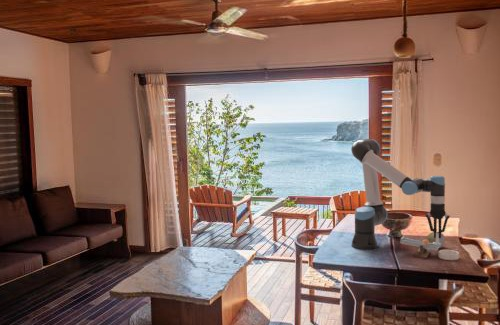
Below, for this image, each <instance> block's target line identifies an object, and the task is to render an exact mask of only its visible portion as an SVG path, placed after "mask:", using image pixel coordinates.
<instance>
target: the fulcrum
mask: <svg viewBox="0 0 500 325" xmlns="http://www.w3.org/2000/svg"><path fill="white" fill-rule="evenodd" d="M430 253H431V249H426V248H423V245H420V247H419V248H418V250H417V251H416V252H415V257H418V258H424V259H425V258H426V259H427V258H428V257H429V255H430Z"/></svg>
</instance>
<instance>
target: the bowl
mask: <svg viewBox="0 0 500 325" xmlns="http://www.w3.org/2000/svg"><path fill="white" fill-rule="evenodd" d="M437 252H438V253H437V254H438V255H437V256H438V258H440V259H442V260H444V261H445V260H446V261H458V260H459V258H460V252H458V251H457V250H453V249H440V250H439V249H438V251H437Z"/></svg>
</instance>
